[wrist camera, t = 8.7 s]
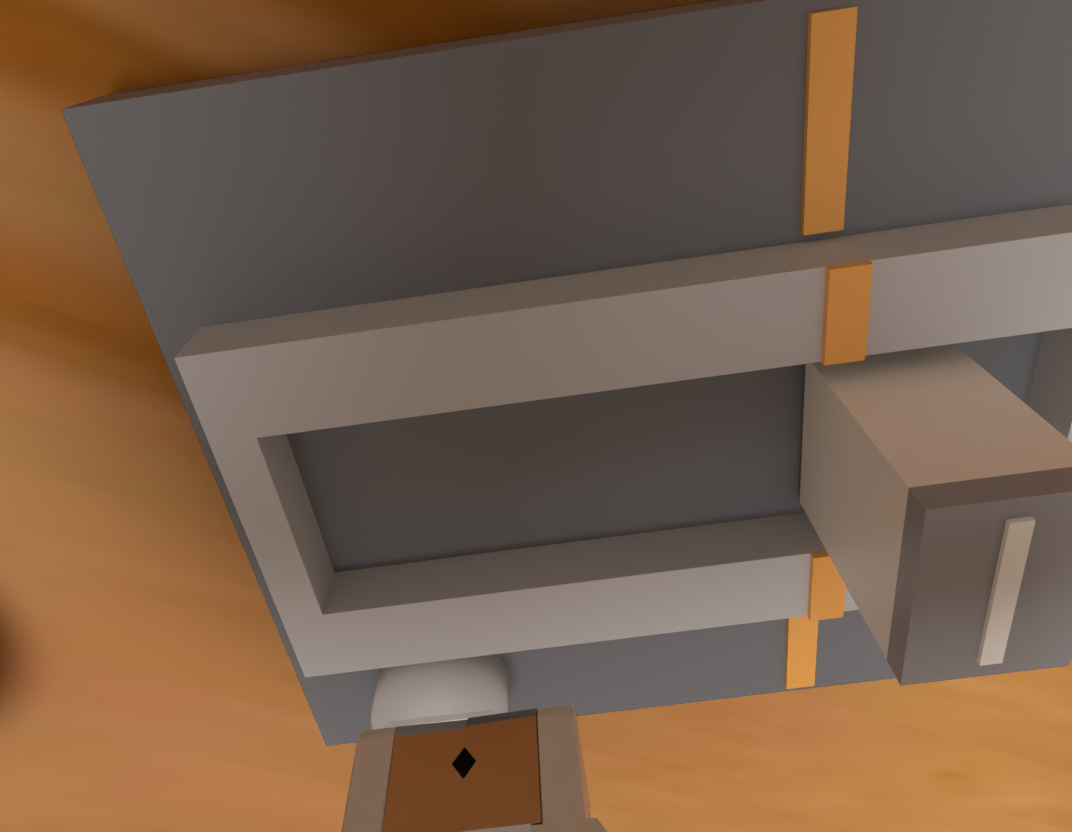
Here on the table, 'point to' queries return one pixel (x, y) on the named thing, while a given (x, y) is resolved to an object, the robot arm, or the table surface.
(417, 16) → the table surface
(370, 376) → the console
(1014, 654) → the fader tab
